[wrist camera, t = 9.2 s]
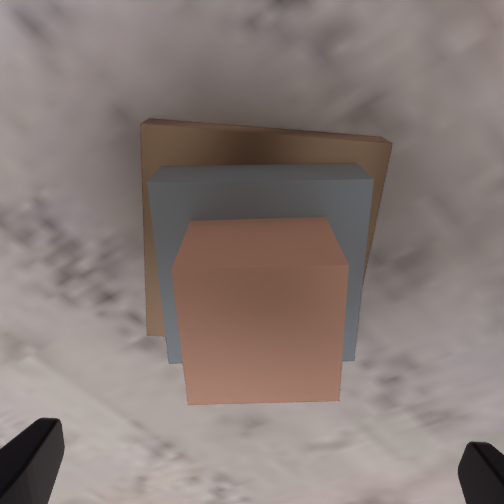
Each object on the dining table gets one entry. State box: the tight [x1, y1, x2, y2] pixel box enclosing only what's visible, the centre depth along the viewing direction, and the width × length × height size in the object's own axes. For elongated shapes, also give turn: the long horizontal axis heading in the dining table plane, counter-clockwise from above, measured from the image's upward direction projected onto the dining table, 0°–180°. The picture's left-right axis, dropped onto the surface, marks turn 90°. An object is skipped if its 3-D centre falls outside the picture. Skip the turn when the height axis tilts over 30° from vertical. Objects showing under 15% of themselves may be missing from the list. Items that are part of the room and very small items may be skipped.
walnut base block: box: [140, 119, 392, 337], centre depth 20 cm, size 10×10×2 cm
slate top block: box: [147, 163, 374, 364], centre depth 18 cm, size 8×8×2 cm
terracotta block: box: [171, 217, 349, 405], centre depth 15 cm, size 5×5×4 cm
